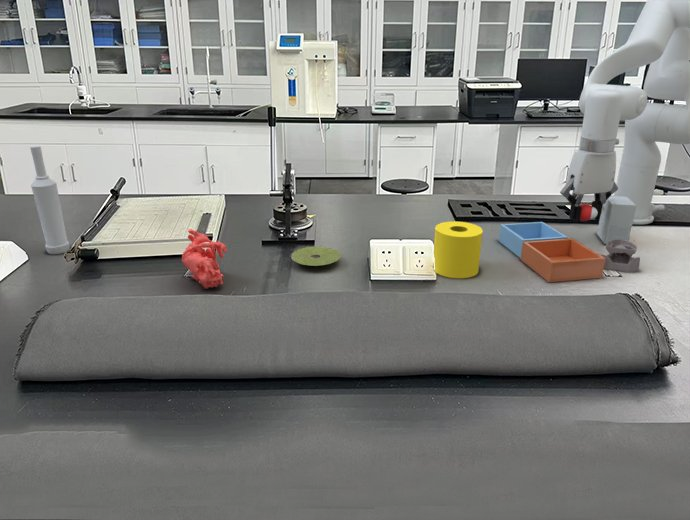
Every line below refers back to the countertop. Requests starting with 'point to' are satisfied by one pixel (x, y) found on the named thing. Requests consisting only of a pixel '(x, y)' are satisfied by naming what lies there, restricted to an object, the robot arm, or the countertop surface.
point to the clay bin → (562, 260)
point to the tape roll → (457, 249)
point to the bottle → (48, 207)
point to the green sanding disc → (315, 256)
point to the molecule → (587, 212)
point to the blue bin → (526, 234)
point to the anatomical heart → (203, 259)
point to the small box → (616, 219)
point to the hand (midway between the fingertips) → (584, 218)
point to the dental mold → (621, 256)
